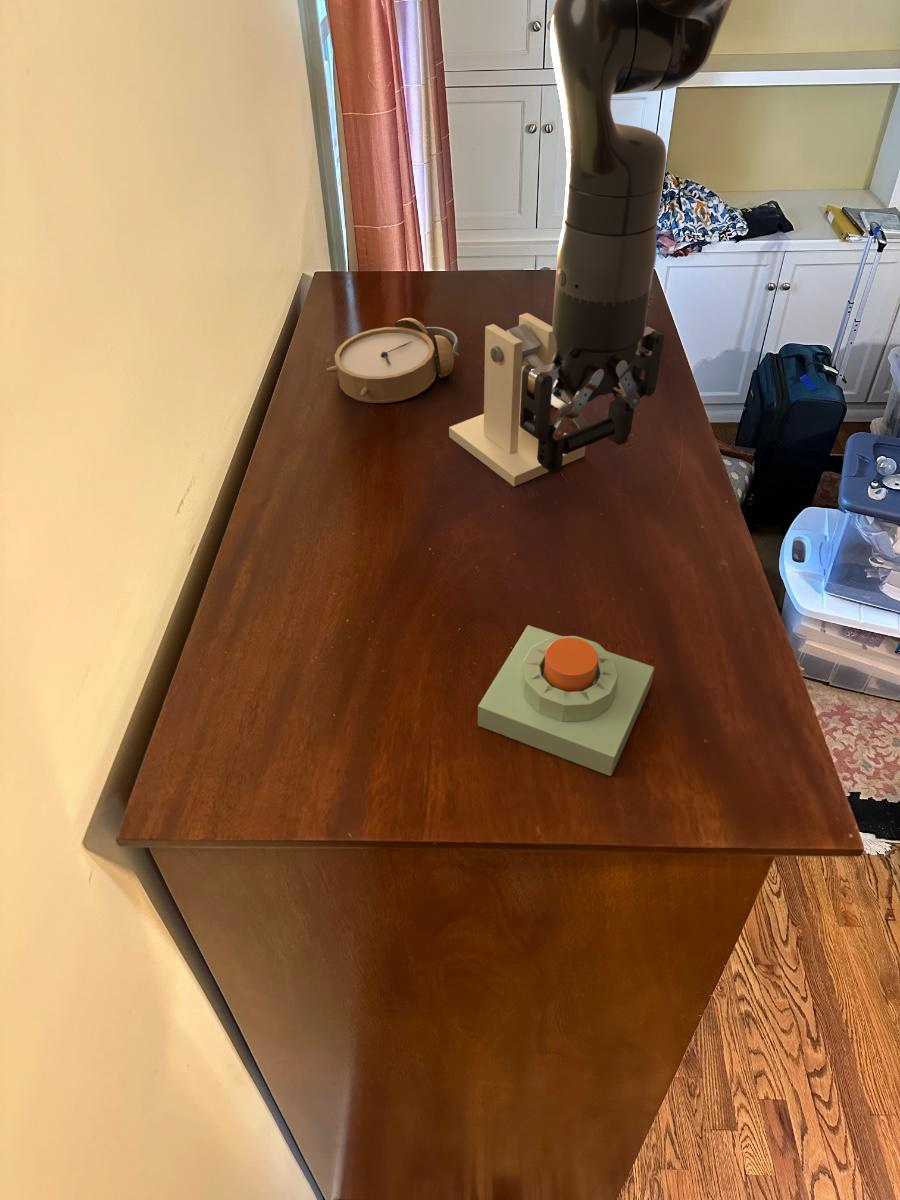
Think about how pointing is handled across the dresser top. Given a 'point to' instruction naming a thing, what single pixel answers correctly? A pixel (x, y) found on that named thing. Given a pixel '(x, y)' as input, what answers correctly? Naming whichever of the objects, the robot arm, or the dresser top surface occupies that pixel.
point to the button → (570, 664)
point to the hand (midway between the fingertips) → (584, 454)
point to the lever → (581, 429)
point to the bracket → (507, 407)
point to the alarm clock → (394, 361)
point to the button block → (566, 704)
